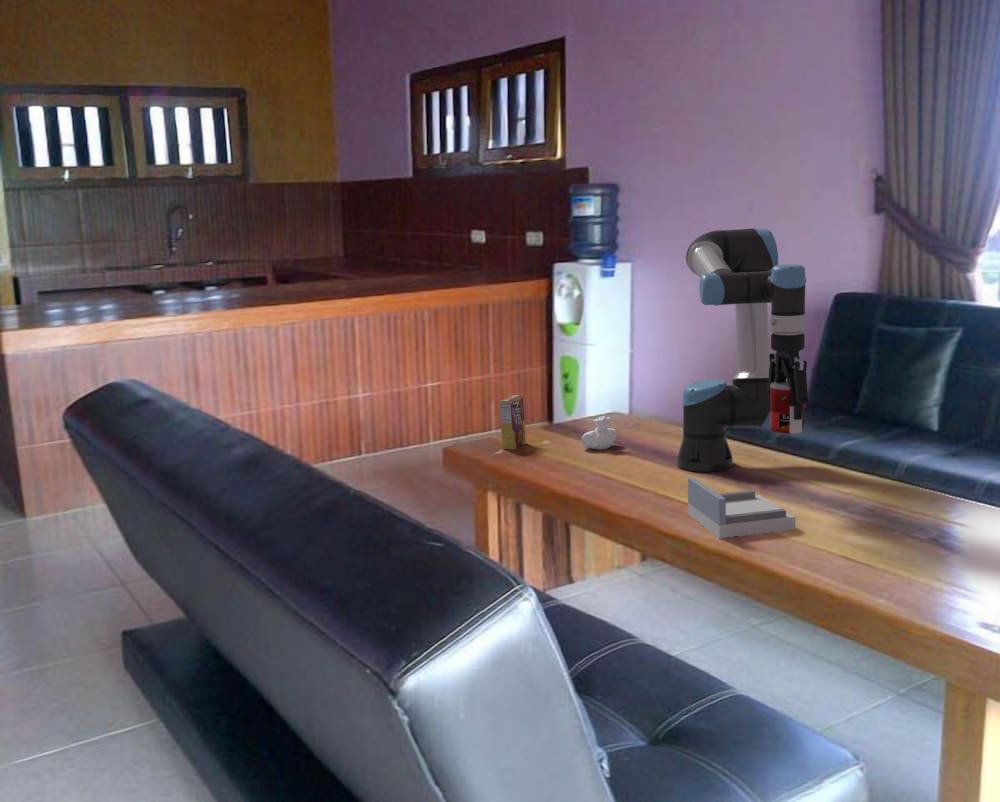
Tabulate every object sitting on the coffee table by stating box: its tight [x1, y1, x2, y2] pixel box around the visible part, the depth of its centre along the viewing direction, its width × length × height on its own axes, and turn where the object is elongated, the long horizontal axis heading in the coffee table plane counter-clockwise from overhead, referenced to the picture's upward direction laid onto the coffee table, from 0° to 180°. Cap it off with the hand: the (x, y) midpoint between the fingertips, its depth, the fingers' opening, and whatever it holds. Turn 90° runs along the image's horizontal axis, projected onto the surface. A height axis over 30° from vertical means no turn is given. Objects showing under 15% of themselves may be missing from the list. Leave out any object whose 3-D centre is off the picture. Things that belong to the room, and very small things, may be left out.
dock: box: [687, 477, 796, 540], centre depth 232 cm, size 18×18×9 cm
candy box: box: [499, 394, 527, 451], centre depth 313 cm, size 9×4×15 cm, turn 152°
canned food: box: [769, 380, 805, 435], centre depth 238 cm, size 8×8×11 cm
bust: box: [581, 415, 618, 451], centre depth 305 cm, size 12×8×11 cm
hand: (786, 428), depth 239 cm, fingers closed on canned food, 8 cm apart
